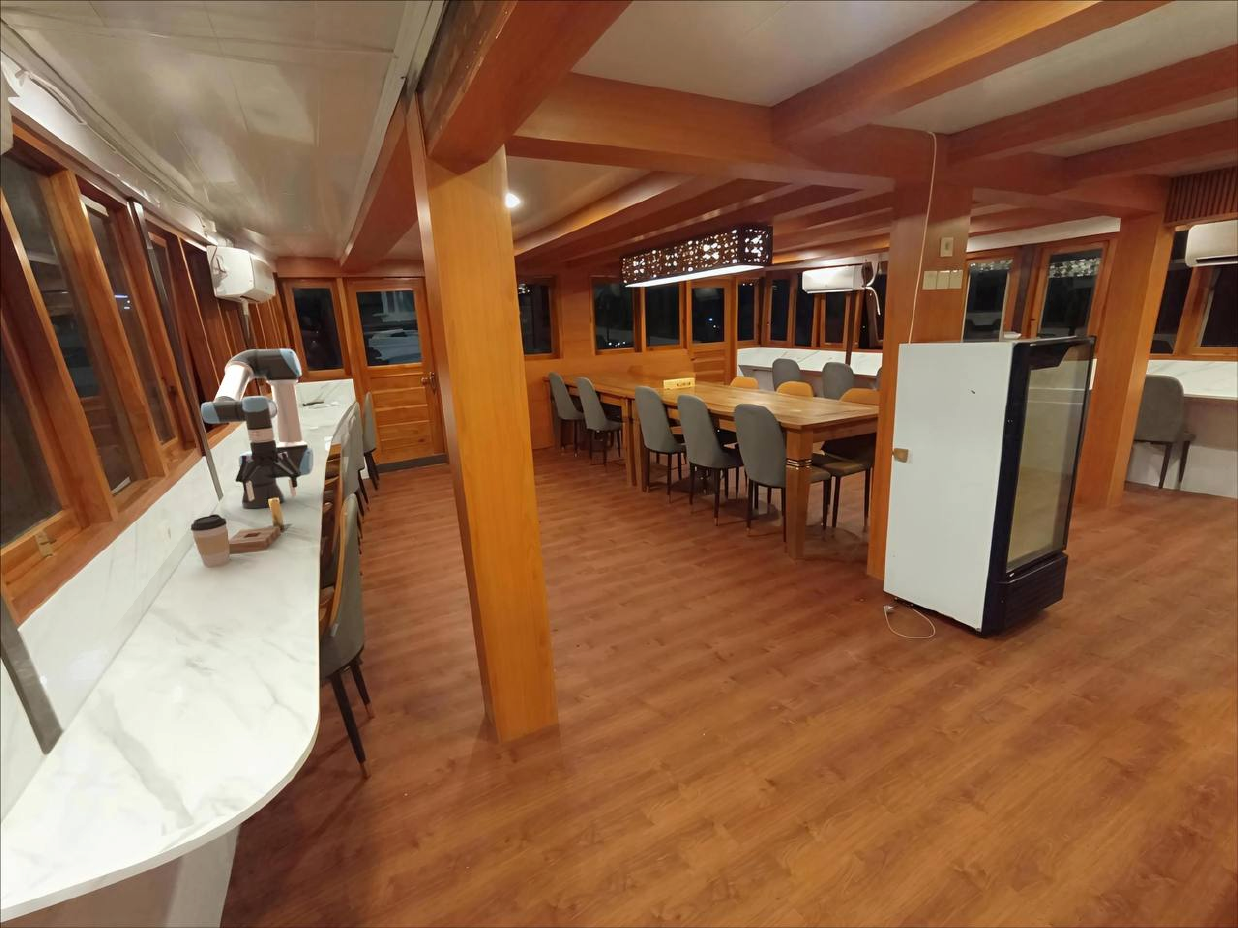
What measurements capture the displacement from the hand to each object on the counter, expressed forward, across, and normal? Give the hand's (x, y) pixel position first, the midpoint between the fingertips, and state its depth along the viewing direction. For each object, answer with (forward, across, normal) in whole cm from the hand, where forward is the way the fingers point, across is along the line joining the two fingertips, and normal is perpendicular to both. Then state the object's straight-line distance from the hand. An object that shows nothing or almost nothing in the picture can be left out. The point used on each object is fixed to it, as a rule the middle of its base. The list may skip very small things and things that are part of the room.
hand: (273, 498), depth 191 cm
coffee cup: (+13, -10, -24) cm, 30 cm away
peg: (+12, 0, 0) cm, 12 cm away
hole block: (+13, -4, -12) cm, 18 cm away
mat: (+13, -2, +2) cm, 13 cm away
